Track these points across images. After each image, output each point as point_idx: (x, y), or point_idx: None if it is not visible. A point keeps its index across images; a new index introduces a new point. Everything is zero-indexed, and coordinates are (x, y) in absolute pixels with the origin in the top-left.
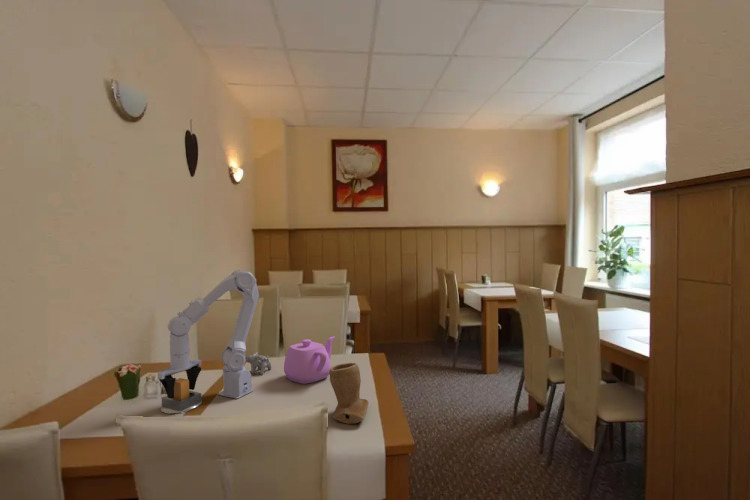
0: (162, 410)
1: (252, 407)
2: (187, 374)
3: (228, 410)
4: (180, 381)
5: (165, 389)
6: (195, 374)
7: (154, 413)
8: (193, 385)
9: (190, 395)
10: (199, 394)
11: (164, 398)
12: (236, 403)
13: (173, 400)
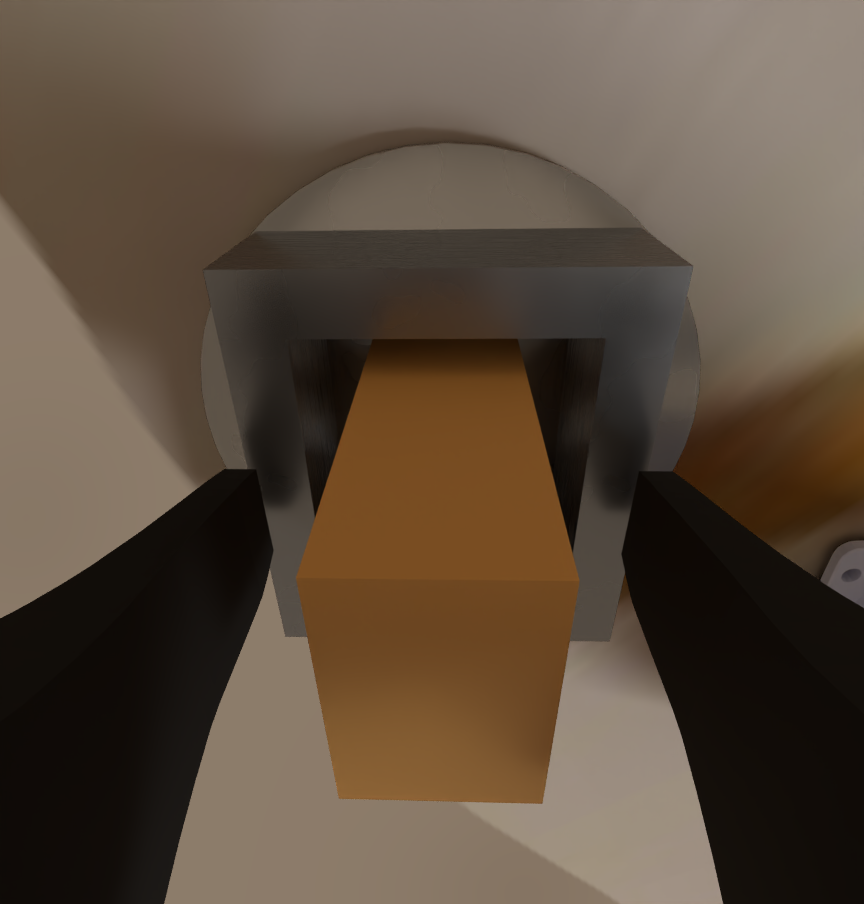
0: (207, 352)
1: (624, 850)
2: (801, 687)
3: None
4: (393, 747)
5: (115, 560)
6: (737, 897)
7: (129, 279)
8: (643, 628)
9: (568, 496)
10: (584, 631)
11: (224, 346)
12: (663, 762)
13: (272, 535)
